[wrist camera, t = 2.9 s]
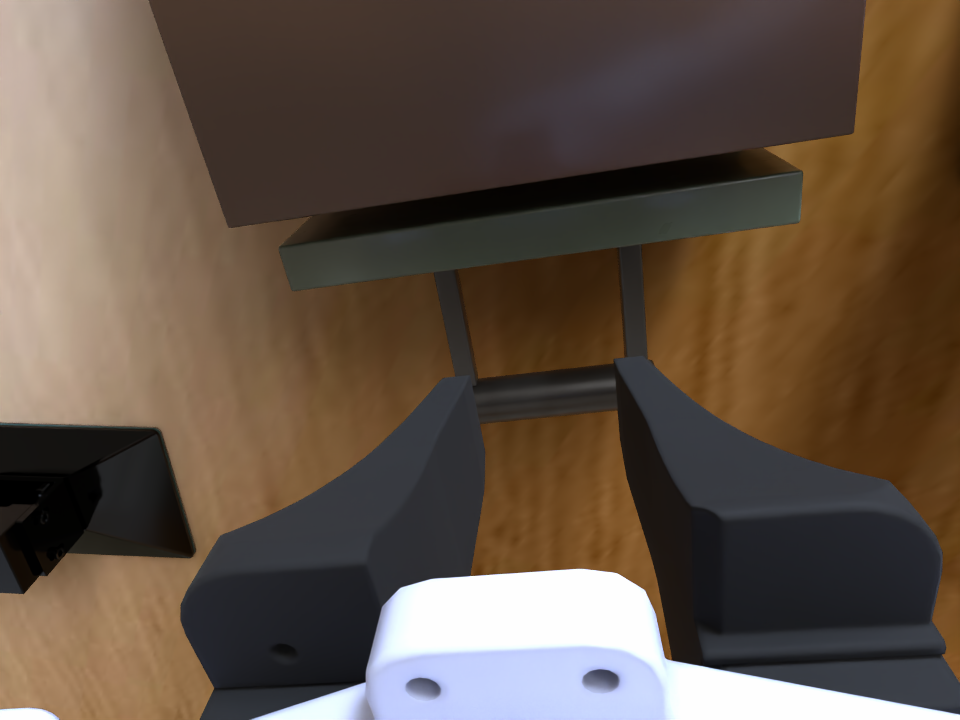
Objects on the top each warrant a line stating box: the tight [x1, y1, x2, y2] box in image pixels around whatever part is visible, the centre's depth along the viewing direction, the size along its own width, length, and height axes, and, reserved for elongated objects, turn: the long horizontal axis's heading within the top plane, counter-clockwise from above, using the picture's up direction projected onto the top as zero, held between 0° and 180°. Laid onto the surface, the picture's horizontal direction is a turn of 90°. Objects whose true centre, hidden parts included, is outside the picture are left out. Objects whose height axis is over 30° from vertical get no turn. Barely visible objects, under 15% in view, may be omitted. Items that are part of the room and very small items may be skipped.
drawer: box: [279, 148, 803, 424], centre depth 16 cm, size 20×12×6 cm, turn 9°
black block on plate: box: [0, 423, 196, 594], centre depth 27 cm, size 12×7×5 cm, turn 91°
